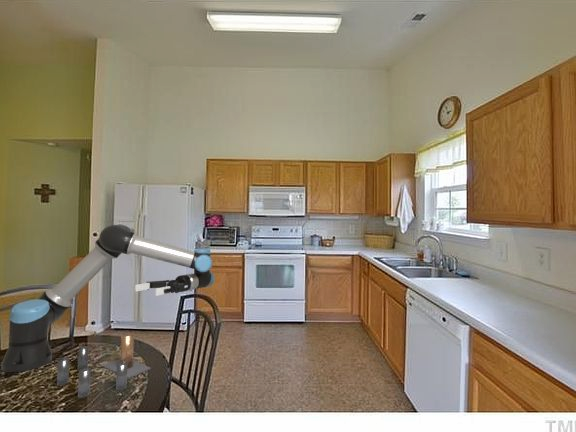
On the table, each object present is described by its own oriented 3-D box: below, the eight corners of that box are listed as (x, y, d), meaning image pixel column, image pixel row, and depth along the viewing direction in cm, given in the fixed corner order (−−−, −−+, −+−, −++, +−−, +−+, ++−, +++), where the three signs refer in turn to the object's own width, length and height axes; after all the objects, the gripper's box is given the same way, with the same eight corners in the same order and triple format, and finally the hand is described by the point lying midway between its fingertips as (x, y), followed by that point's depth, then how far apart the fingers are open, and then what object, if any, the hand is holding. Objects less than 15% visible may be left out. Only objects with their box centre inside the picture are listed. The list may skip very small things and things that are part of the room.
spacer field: (47, 379, 109) (48, 356, 109) (84, 366, 119) (85, 345, 120) (90, 404, 94) (91, 377, 95) (128, 387, 105) (129, 363, 105)
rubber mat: (101, 366, 119) (102, 365, 119) (124, 358, 127) (124, 357, 127) (128, 378, 111) (128, 377, 111) (150, 369, 118) (150, 367, 118)
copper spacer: (117, 367, 118) (118, 335, 118) (128, 363, 122) (129, 332, 122) (124, 370, 116) (125, 337, 116) (135, 365, 120) (136, 334, 120)
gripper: (205, 294, 140) (164, 303, 121) (168, 287, 152) (127, 295, 134) (205, 277, 140) (165, 284, 122) (168, 272, 153) (127, 277, 134)
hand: (145, 290), depth 128 cm, fingers open, 13 cm apart
